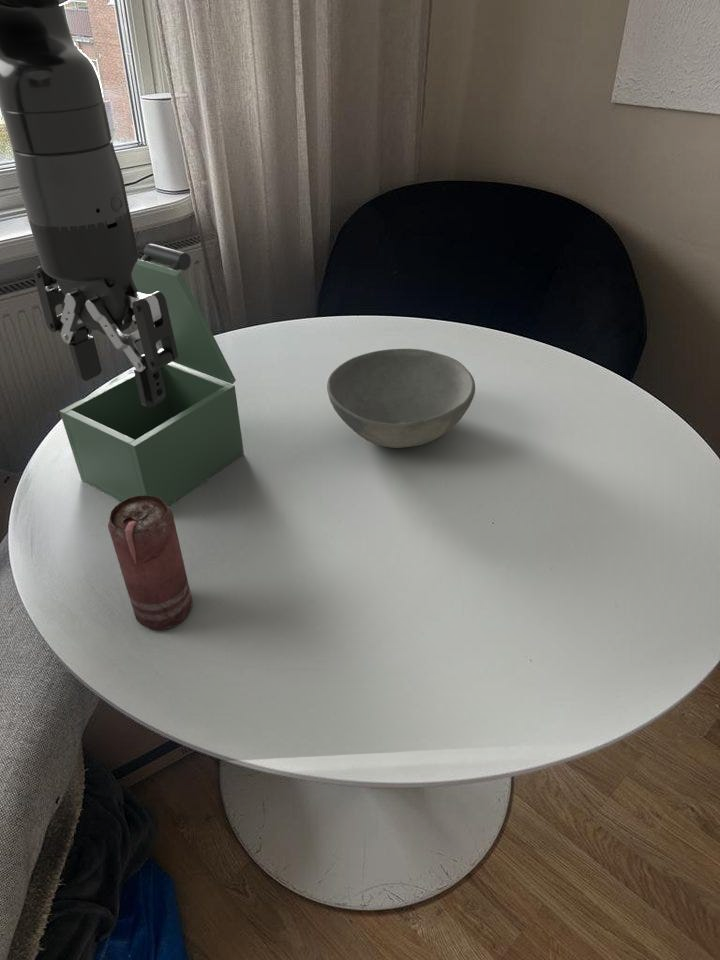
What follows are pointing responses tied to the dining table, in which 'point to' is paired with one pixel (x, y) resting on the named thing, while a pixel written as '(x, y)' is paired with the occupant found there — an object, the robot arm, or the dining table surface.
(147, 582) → the can
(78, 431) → the chest
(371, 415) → the bowl
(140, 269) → the lid
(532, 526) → the dining table surface
